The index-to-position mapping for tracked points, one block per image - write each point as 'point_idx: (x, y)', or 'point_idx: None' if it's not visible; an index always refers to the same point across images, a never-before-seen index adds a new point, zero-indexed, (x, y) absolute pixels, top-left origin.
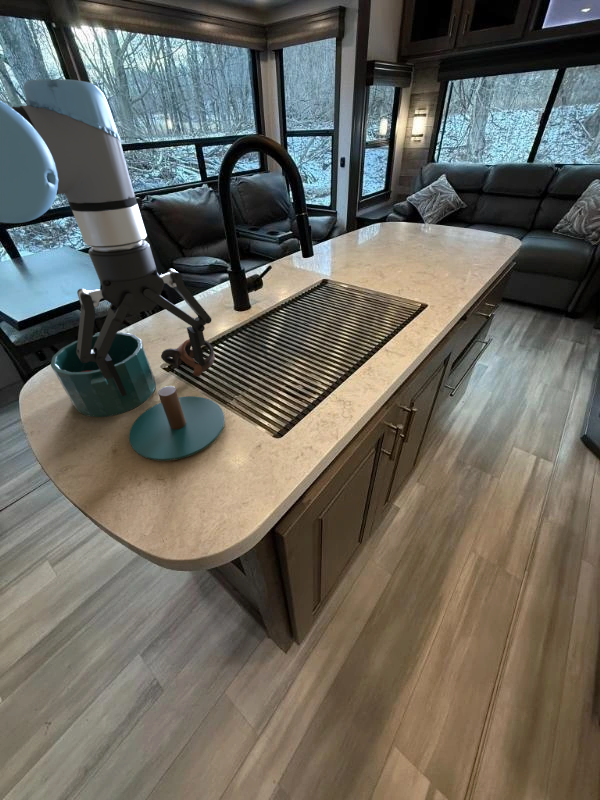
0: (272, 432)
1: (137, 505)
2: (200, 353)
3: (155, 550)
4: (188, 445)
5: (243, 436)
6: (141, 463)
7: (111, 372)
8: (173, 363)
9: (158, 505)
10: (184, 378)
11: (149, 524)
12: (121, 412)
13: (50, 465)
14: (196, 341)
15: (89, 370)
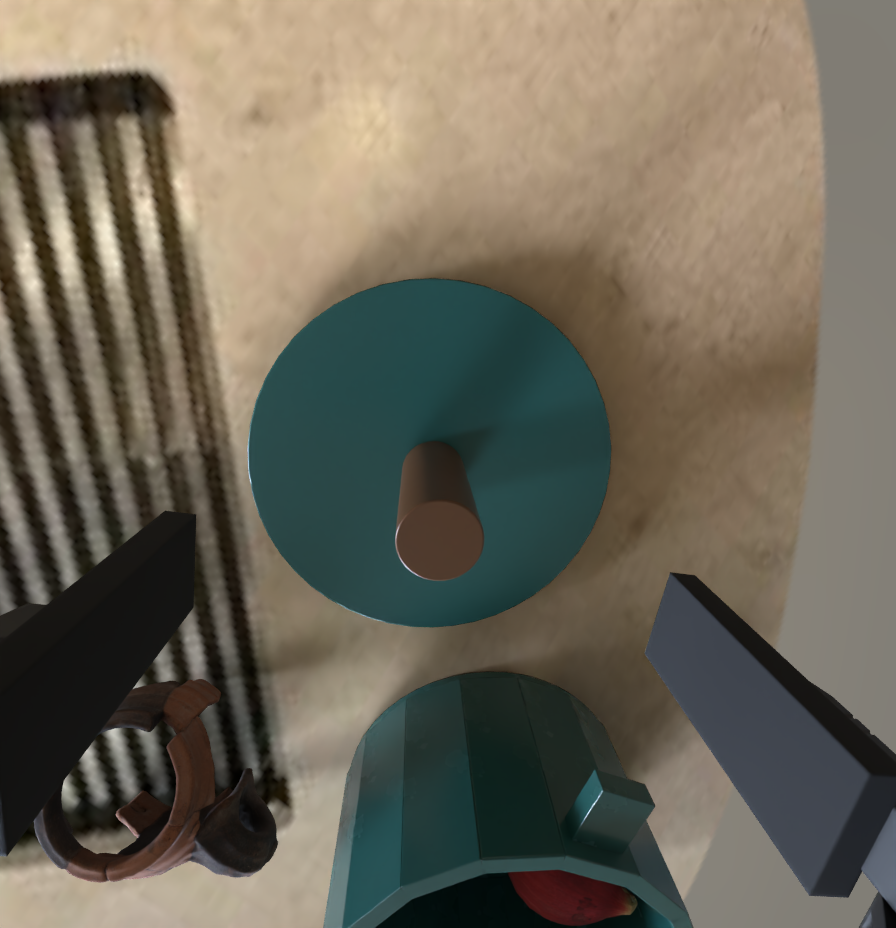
0: (158, 134)
1: (727, 244)
2: (127, 558)
3: (800, 20)
4: (472, 334)
5: (273, 223)
6: (616, 406)
7: (817, 692)
8: (249, 796)
9: (689, 185)
10: (258, 704)
11: (750, 136)
12: (528, 677)
13: (781, 602)
14: (57, 629)
15: (547, 917)
